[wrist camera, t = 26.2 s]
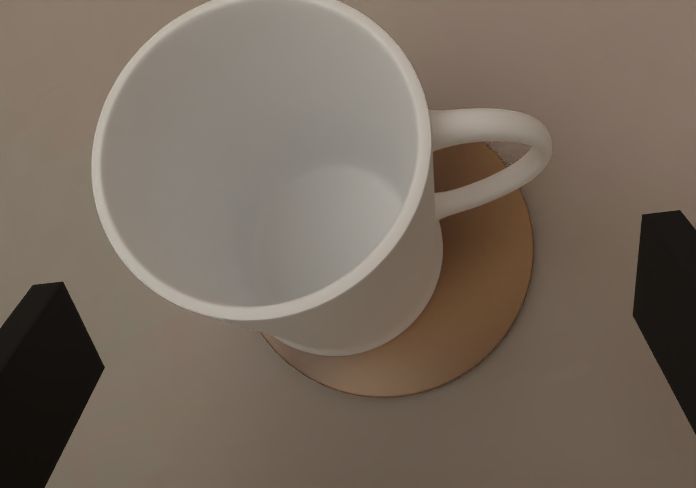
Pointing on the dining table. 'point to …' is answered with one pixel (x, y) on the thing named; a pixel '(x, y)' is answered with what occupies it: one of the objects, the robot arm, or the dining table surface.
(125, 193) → the mug
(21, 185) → the dining table surface
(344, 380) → the coaster
